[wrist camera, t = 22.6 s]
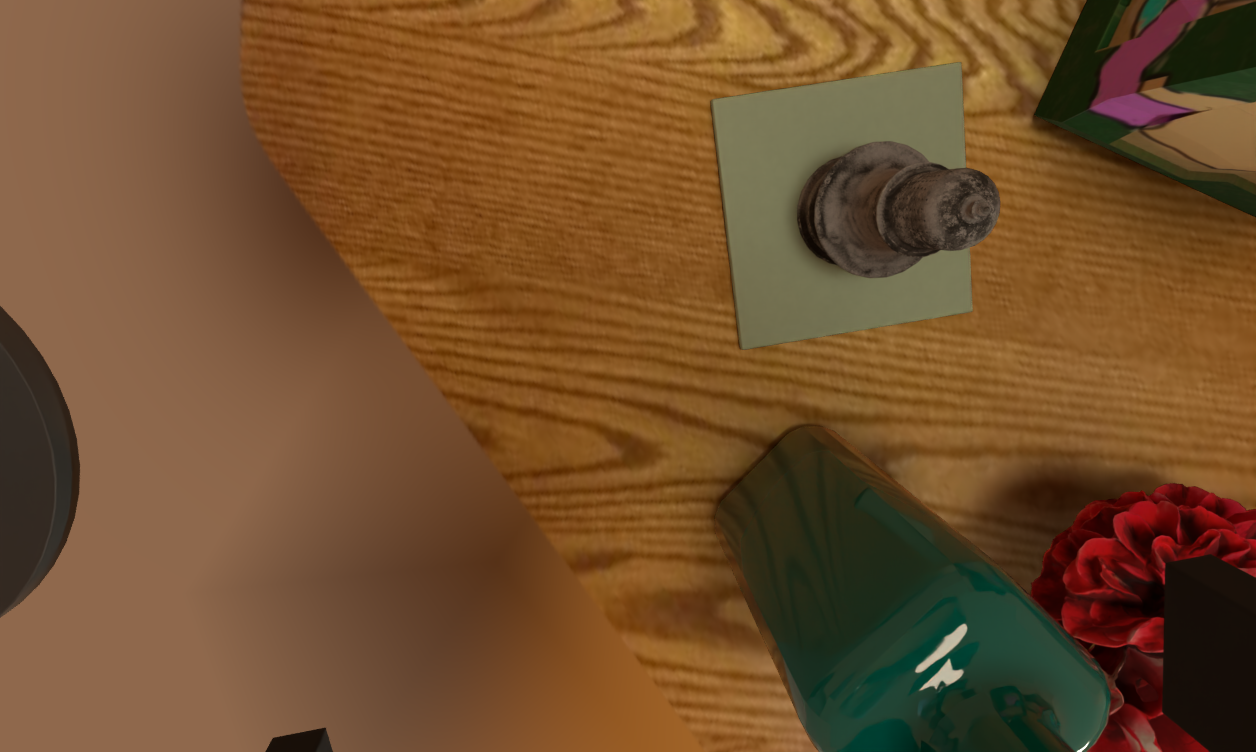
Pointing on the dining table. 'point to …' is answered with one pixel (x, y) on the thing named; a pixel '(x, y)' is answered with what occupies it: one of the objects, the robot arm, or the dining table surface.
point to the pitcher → (897, 615)
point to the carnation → (1137, 595)
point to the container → (1165, 90)
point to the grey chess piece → (892, 209)
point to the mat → (777, 172)
